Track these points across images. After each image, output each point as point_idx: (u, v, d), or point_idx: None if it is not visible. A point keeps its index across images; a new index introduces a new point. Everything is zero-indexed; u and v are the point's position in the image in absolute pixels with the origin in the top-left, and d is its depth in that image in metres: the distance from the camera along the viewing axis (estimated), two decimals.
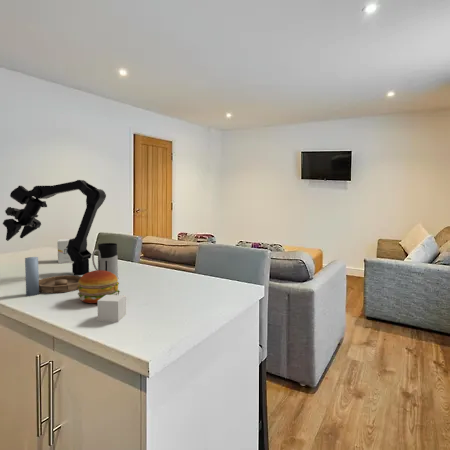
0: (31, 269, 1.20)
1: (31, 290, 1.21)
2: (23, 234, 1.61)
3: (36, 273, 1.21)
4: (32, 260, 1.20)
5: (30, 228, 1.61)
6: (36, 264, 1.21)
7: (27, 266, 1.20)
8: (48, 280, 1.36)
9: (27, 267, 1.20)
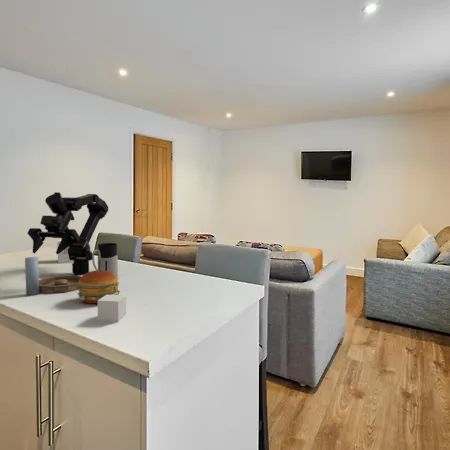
0: (31, 269, 1.20)
1: (31, 290, 1.21)
2: (36, 248, 1.31)
3: (36, 273, 1.21)
4: (32, 260, 1.20)
5: (41, 241, 1.35)
6: (36, 264, 1.21)
7: (27, 266, 1.20)
8: (48, 280, 1.36)
9: (27, 267, 1.20)
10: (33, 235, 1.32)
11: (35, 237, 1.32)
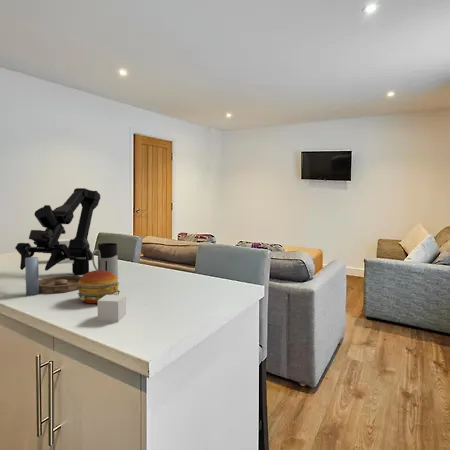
0: (31, 269, 1.20)
1: (31, 290, 1.21)
2: (24, 264, 1.25)
3: (36, 273, 1.21)
4: (32, 260, 1.20)
5: None
6: (36, 264, 1.21)
7: (27, 266, 1.20)
8: (48, 280, 1.36)
9: (27, 267, 1.20)
10: (21, 250, 1.25)
11: (23, 252, 1.25)
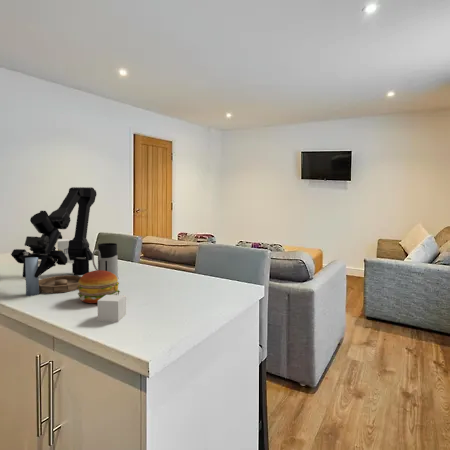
0: (31, 269, 1.20)
1: (31, 290, 1.21)
2: None
3: None
4: (32, 260, 1.20)
5: None
6: (36, 264, 1.21)
7: (27, 266, 1.20)
8: (48, 280, 1.36)
9: (27, 267, 1.20)
10: (23, 257, 1.23)
11: None
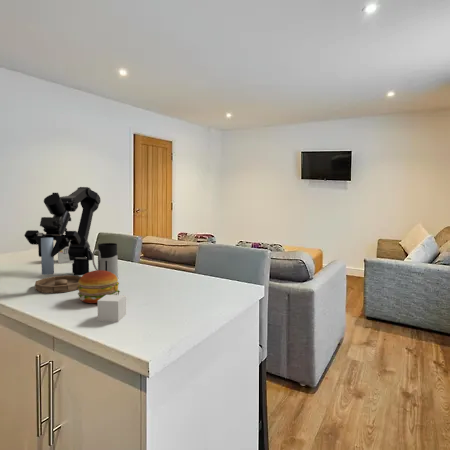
0: (47, 249, 1.24)
1: (47, 269, 1.24)
2: None
3: None
4: (48, 240, 1.24)
5: None
6: (52, 244, 1.25)
7: (43, 246, 1.23)
8: (48, 280, 1.36)
9: (43, 247, 1.23)
10: (38, 238, 1.26)
11: (40, 239, 1.26)
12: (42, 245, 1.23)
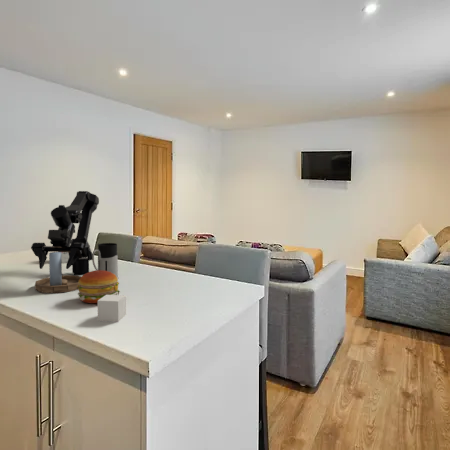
0: (56, 264, 1.25)
1: (56, 284, 1.26)
2: (42, 264, 1.27)
3: (60, 267, 1.27)
4: (57, 255, 1.25)
5: (45, 256, 1.30)
6: (60, 259, 1.27)
7: (52, 261, 1.25)
8: (48, 280, 1.36)
9: (52, 262, 1.25)
10: (38, 250, 1.27)
11: (40, 252, 1.27)
12: (51, 260, 1.25)
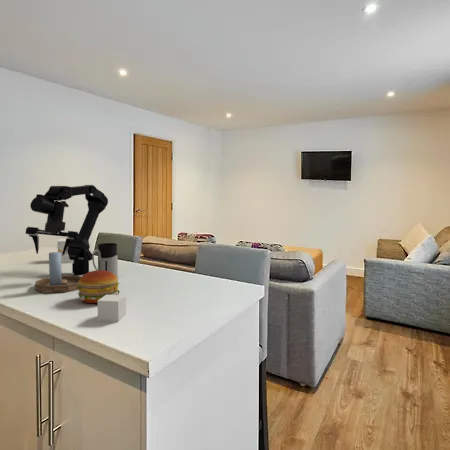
0: (56, 264, 1.25)
1: (56, 284, 1.26)
2: (38, 248, 1.37)
3: (60, 267, 1.27)
4: (57, 255, 1.25)
5: (38, 238, 1.38)
6: (60, 259, 1.27)
7: (52, 261, 1.25)
8: (48, 280, 1.36)
9: (52, 262, 1.25)
10: (33, 237, 1.34)
11: (36, 238, 1.35)
12: (50, 260, 1.25)
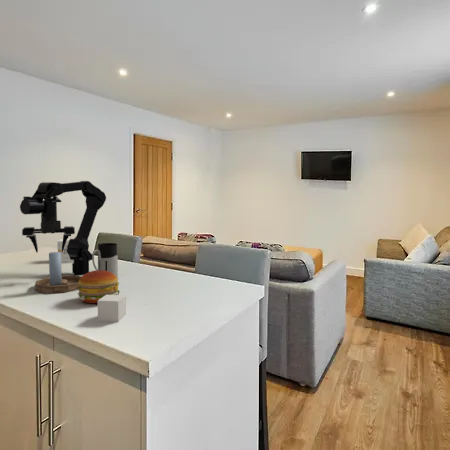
0: (56, 264, 1.25)
1: (56, 284, 1.26)
2: (37, 247, 1.39)
3: (60, 267, 1.27)
4: (57, 255, 1.25)
5: (35, 236, 1.40)
6: (60, 259, 1.27)
7: (52, 261, 1.25)
8: (48, 280, 1.36)
9: (52, 262, 1.25)
10: (31, 237, 1.36)
11: (33, 238, 1.36)
12: (50, 260, 1.25)
